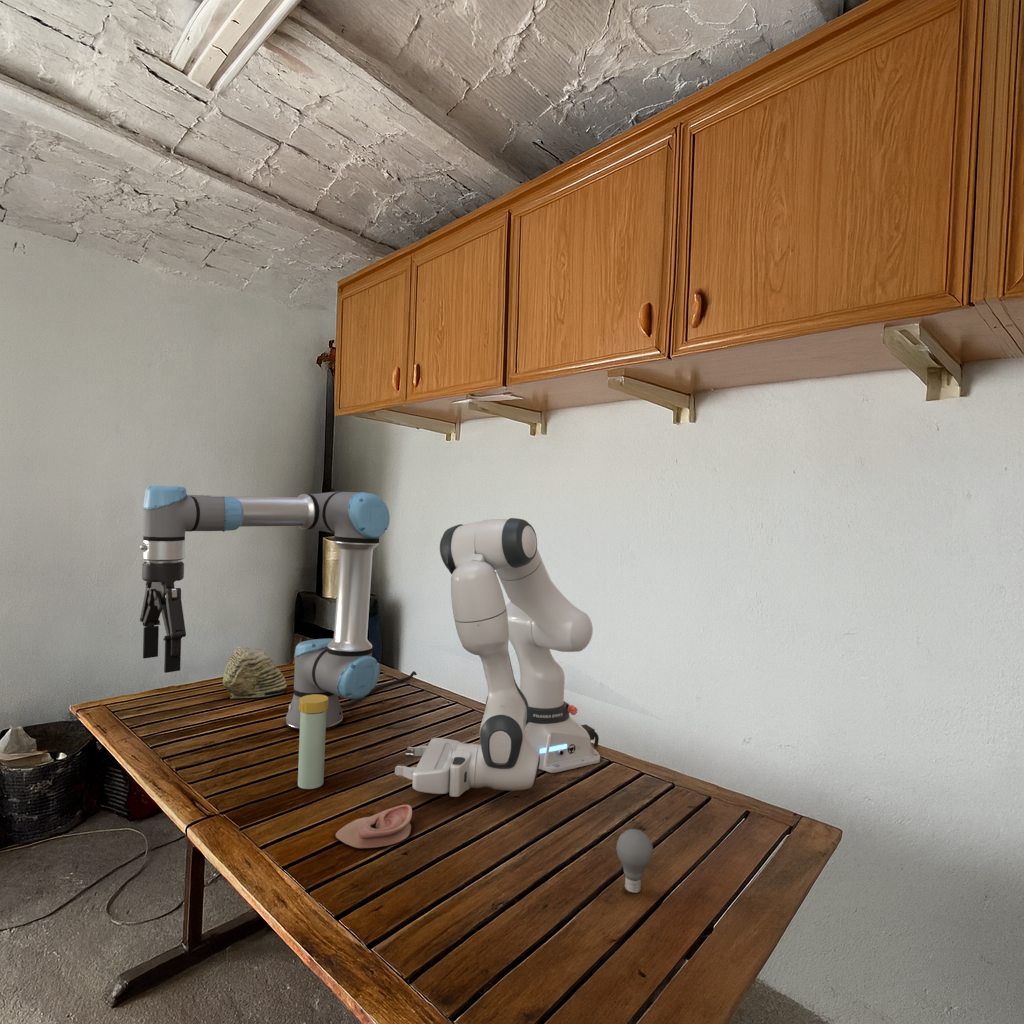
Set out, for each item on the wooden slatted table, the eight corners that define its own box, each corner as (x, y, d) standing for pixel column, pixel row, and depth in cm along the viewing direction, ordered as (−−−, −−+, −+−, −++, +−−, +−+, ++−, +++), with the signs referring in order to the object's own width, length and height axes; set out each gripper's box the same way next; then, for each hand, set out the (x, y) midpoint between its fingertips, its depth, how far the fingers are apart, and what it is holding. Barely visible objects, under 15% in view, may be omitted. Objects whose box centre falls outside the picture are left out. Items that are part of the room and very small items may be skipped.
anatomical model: (328, 822, 116) (356, 794, 127) (327, 843, 116) (355, 813, 127) (396, 832, 113) (418, 803, 124) (395, 855, 113) (418, 823, 124)
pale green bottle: (320, 776, 143) (323, 695, 143) (326, 786, 139) (329, 702, 138) (295, 780, 141) (298, 698, 140) (300, 791, 136) (303, 705, 136)
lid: (324, 702, 144) (324, 692, 144) (331, 711, 138) (331, 701, 138) (296, 706, 140) (296, 696, 140) (302, 715, 135) (302, 704, 135)
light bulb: (610, 879, 108) (613, 822, 108) (644, 879, 109) (647, 822, 109) (619, 902, 102) (622, 840, 102) (655, 901, 103) (658, 840, 103)
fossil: (218, 695, 195) (220, 647, 195) (278, 685, 208) (279, 640, 207) (228, 703, 189) (230, 653, 188) (289, 692, 201) (290, 645, 201)
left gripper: (125, 556, 136) (122, 654, 136) (163, 568, 118) (160, 681, 119) (163, 554, 141) (160, 649, 141) (205, 566, 124) (202, 674, 124)
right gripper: (471, 733, 147) (412, 729, 148) (457, 770, 127) (389, 765, 128) (470, 760, 147) (411, 755, 148) (456, 801, 127) (388, 796, 128)
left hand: (160, 664), depth 130 cm, fingers open, 13 cm apart
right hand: (401, 760), depth 138 cm, fingers open, 8 cm apart
